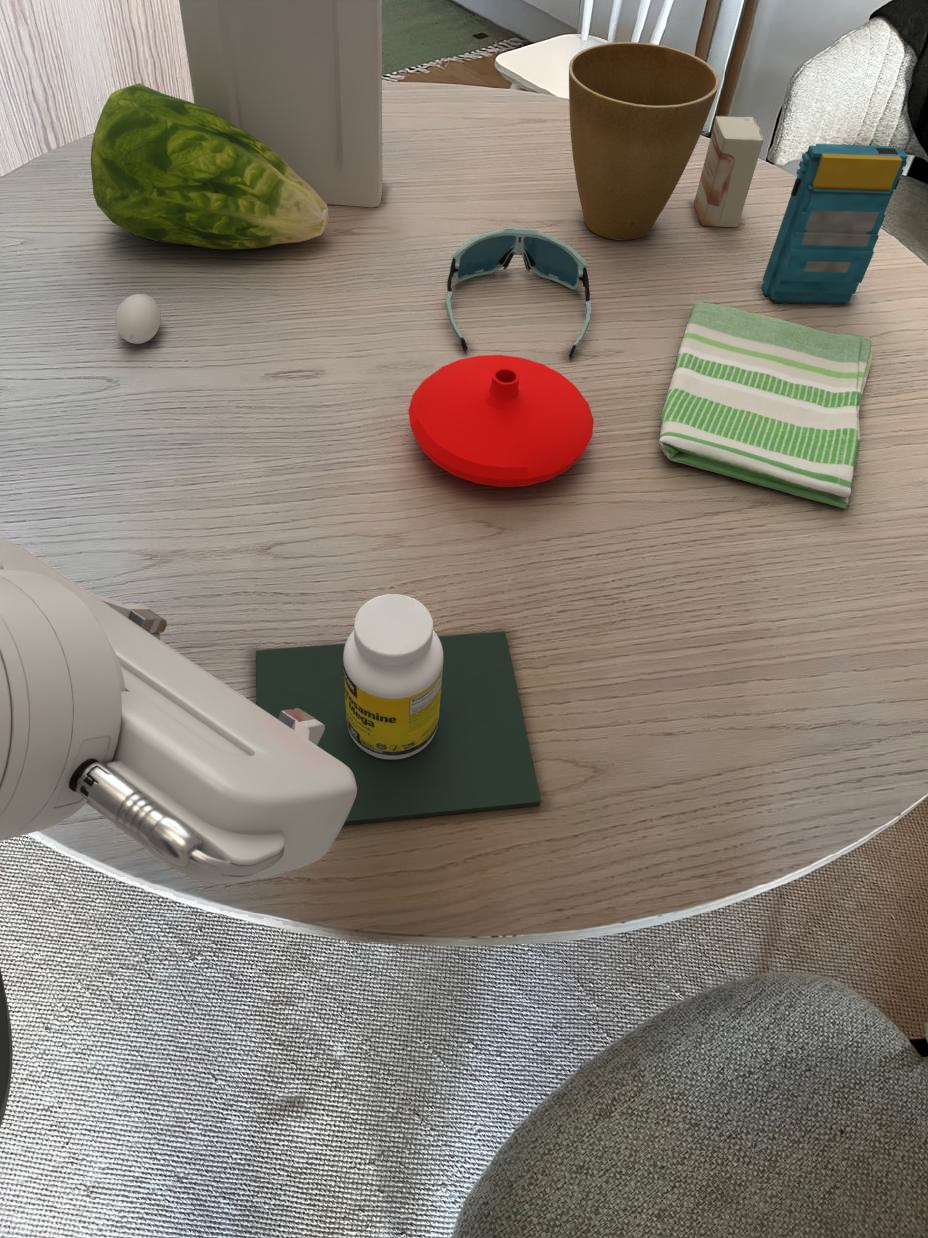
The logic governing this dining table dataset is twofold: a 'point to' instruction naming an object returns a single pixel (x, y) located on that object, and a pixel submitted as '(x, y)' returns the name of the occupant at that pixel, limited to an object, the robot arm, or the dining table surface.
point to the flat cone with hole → (500, 420)
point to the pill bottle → (392, 677)
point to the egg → (138, 318)
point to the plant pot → (634, 130)
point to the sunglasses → (538, 255)
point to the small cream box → (728, 170)
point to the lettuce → (195, 177)
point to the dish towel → (767, 402)
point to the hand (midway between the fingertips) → (226, 678)
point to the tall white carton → (297, 84)
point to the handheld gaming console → (832, 222)
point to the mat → (456, 756)
